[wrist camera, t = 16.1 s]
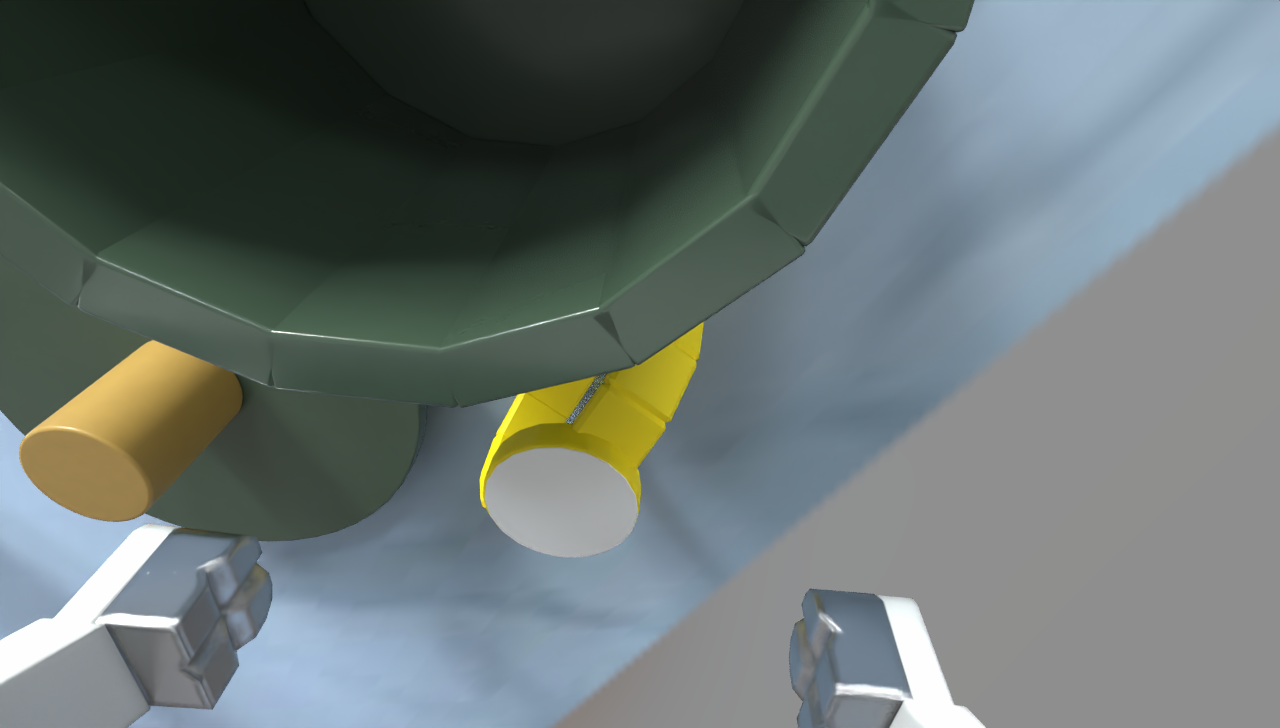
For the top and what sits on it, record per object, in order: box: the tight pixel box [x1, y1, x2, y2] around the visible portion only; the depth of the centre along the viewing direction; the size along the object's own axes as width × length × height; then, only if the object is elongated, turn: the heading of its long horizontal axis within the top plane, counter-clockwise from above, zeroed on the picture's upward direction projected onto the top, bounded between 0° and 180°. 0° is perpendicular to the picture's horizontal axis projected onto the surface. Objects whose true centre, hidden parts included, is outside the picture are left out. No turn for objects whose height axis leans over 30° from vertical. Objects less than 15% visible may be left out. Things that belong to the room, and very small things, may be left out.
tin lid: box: [0, 256, 427, 541], centre depth 16 cm, size 11×11×5 cm
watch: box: [480, 322, 704, 557], centre depth 14 cm, size 6×3×6 cm, turn 140°
